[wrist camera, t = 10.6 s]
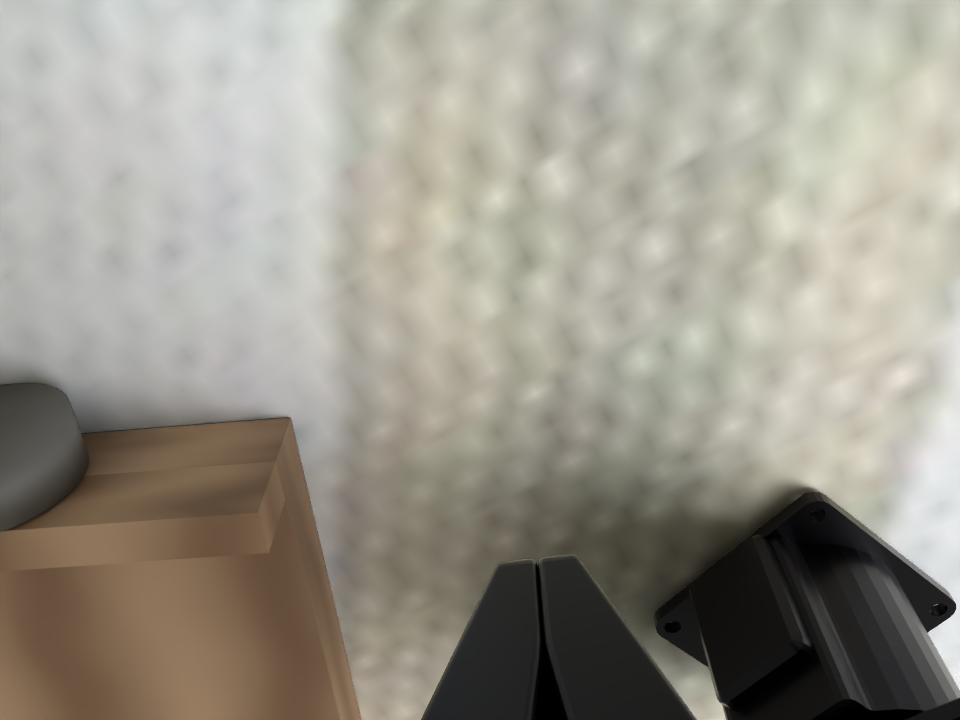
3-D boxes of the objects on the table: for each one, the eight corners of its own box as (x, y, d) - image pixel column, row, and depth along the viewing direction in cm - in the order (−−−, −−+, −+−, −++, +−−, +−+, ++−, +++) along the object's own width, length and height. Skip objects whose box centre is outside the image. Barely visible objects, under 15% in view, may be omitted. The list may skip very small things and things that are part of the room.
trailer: (277, 362, 24) (237, 462, 20) (386, 826, 33) (373, 955, 29) (-240, 404, 24) (-377, 509, 20) (11, 846, 34) (-50, 975, 30)
